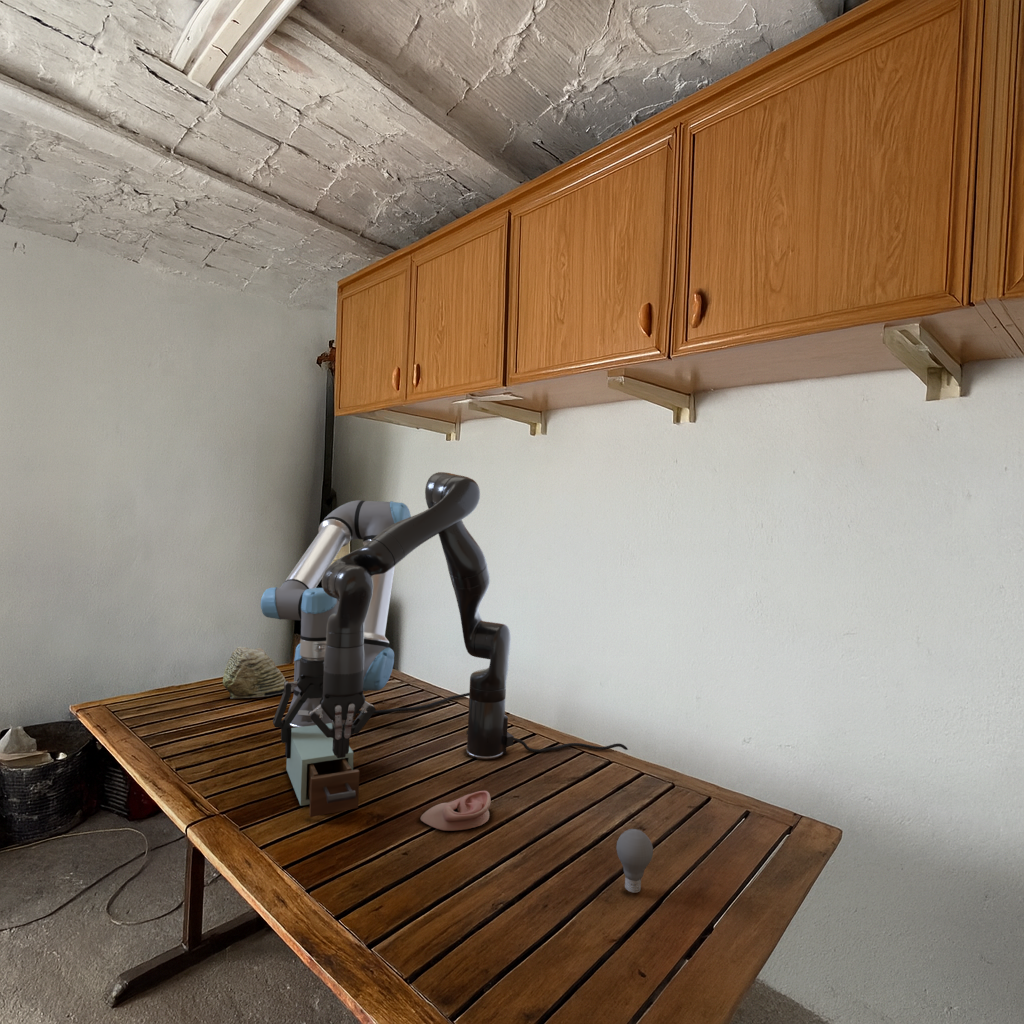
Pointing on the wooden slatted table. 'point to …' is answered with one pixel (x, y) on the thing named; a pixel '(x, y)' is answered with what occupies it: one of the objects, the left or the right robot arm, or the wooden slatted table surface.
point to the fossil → (252, 674)
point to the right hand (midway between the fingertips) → (340, 756)
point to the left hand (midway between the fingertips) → (313, 752)
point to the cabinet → (309, 756)
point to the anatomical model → (459, 812)
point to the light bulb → (634, 857)
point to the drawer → (332, 787)
